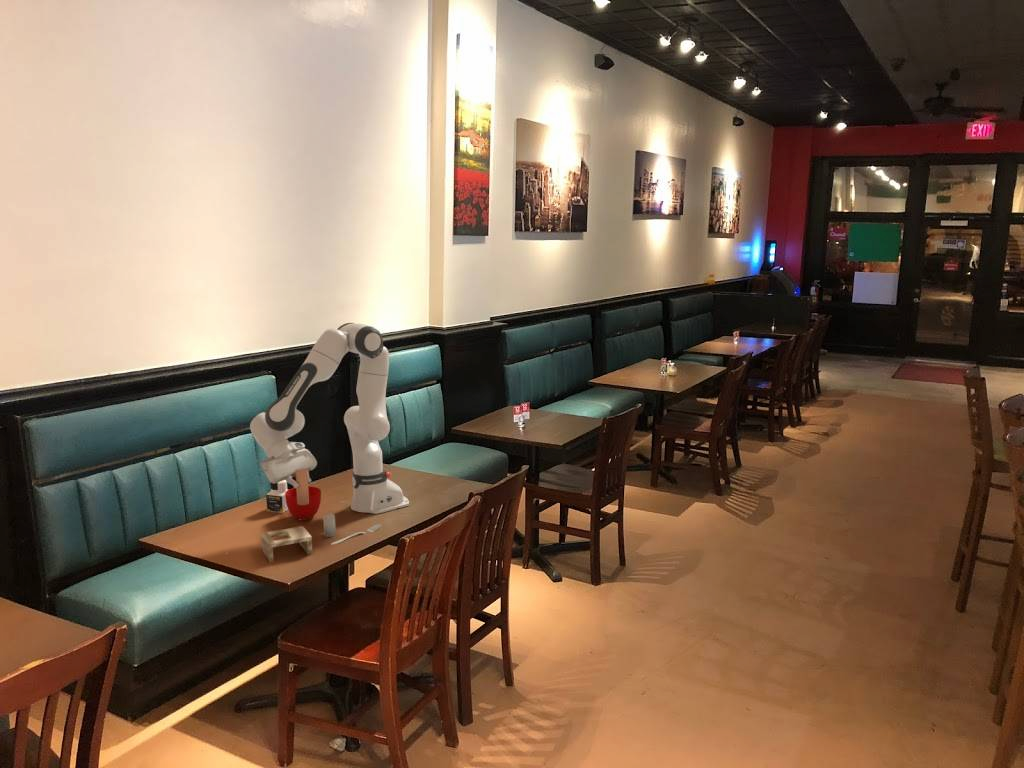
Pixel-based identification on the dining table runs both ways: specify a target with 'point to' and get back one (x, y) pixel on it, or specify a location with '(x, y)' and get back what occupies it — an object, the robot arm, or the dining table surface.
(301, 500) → the long dowel
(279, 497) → the medicine bottle
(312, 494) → the ceramic cup
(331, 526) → the short dowel
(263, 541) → the bridge
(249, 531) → the dining table surface
